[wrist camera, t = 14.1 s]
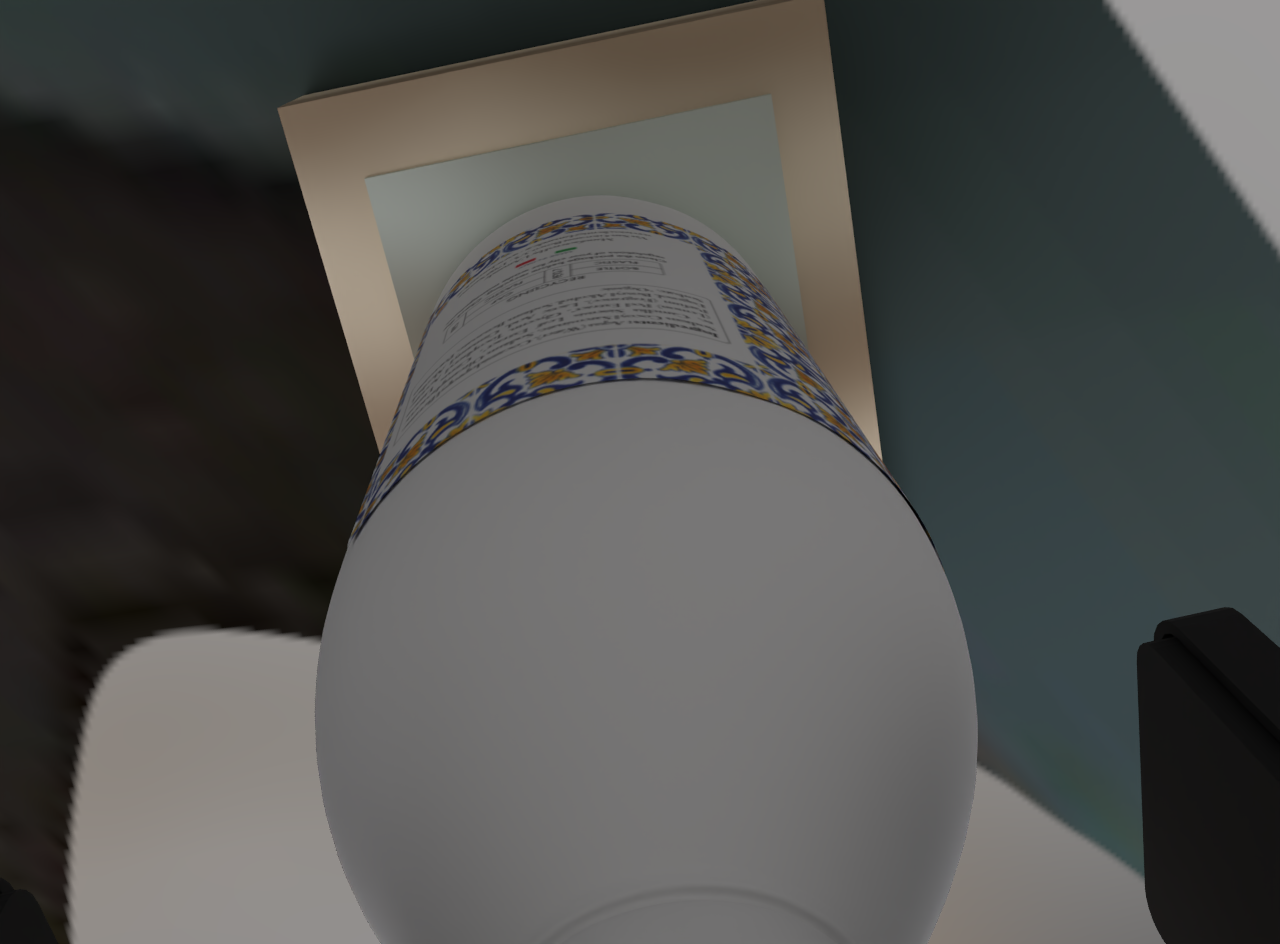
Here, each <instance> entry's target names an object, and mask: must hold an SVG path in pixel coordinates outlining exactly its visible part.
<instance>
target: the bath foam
mask: <svg viewBox="0 0 1280 944" xmlns="http://www.w3.org/2000/svg"><path fill="white" fill-rule="evenodd" d="M348 544H349V546H348V545H347V546H348V549H347V552H346V555H345V558H344V561H343V564H342V567H341V570H340V573H339V576H338V579H337V582H336V585H335V588H334V591H333V595H332V598H331V602H330V606H329V609H328V613H327V617H326V621H325V625H324V630H323V635H322V640H321V647H320V654H319V661H318V669H317V680H316V681H317V682H316V698H315V728H316V752H317V761H318V770H319V776H320V783H321V790H322V796H323V802H324V807H325V812H326V816H327V819H328V823H329V827H330V830H331V834H332V837H333V840H334V844H335V847H336V851H337V854H338V857H339V860H340V863H341V865H342V868H343V871H344V873H345V875H346V878H347V880H348V882H349V884H350V886H351V889H352V891H353V893H354V895H355V897H356V899H357V901H358V903H359V906H360V908H361V910H362V912H363V914H364V916H365V918H366V919H367V922H368V923H369V925H370V927H371V929H372V930H373V931H374V933H375V935H376V937H377V938H378V940H379V941H380V943H381V944H927V943H928V941H929V939H930V937H931V935H932V932H933V930H934V928H935V925H936V923H937V921H938V918H939V916H940V913H941V911H942V908H943V906H944V904H945V901H946V899H947V896H948V893H949V891H950V888H951V884H952V881H953V878H954V875H955V872H956V868H957V866H958V863H959V860H960V856H961V853H962V850H963V846H964V842H965V838H966V833H967V828H968V823H969V818H970V813H971V808H972V802H973V797H974V790H975V781H976V768H977V740H978V725H977V710H976V699H975V689H974V680H973V673H972V666H971V662H970V657H969V652H968V647H967V643H966V638H965V633H964V630H963V626H962V622H961V618H960V615H959V612H958V609H957V606H956V602H955V599H954V596H953V593H952V590H951V588H950V585H949V583H948V580H947V578H946V575H945V572H944V569H943V566H942V563H941V561H940V558H939V555H938V553H937V550H936V548H935V546H934V544H933V541H932V539H931V537H930V535H929V533H928V531H927V530H926V528H925V526H924V524H923V522H922V521H921V519H920V517H919V516H918V514H917V513H916V511H915V509H914V508H913V506H912V505H911V503H910V502H909V500H908V499H907V498H906V496H905V495H904V493H903V492H902V490H901V489H900V487H899V486H898V484H897V483H896V481H895V480H894V478H893V477H892V475H891V474H890V472H889V471H888V469H887V468H886V466H885V465H884V463H883V462H882V460H881V459H880V457H879V456H878V454H877V453H876V451H875V450H874V448H873V447H872V445H871V444H870V442H869V441H868V439H867V438H866V436H865V435H864V433H863V432H862V430H861V429H860V427H859V426H858V424H857V423H856V421H855V420H854V418H853V417H852V415H851V414H850V412H849V411H848V409H847V408H846V406H845V405H844V403H843V402H842V401H841V399H840V398H839V396H838V395H837V393H836V392H835V390H834V389H833V387H832V386H831V384H830V383H829V381H828V380H827V378H826V377H825V375H824V374H823V372H822V371H821V369H820V368H819V366H818V365H817V363H816V362H815V360H814V359H813V357H812V356H811V354H810V353H809V351H808V350H807V348H806V347H805V345H804V344H803V342H802V341H801V339H800V338H799V336H798V335H797V333H796V332H795V330H794V329H793V327H792V326H791V324H790V323H789V321H788V320H787V318H786V317H785V315H784V314H783V312H782V311H781V309H780V308H779V306H778V305H777V304H776V302H775V301H774V299H773V298H772V296H771V295H770V293H769V292H768V291H767V289H766V288H765V287H764V285H763V284H762V283H761V281H760V280H759V279H758V277H757V276H756V274H755V273H754V271H753V270H752V269H751V267H750V266H749V265H748V264H747V262H746V261H745V260H744V259H743V258H742V257H741V255H740V254H739V253H738V252H737V251H736V250H735V249H734V248H733V247H732V246H731V245H730V244H729V243H728V242H727V241H725V240H724V239H723V238H722V237H721V236H719V235H718V234H717V233H716V232H714V231H713V230H712V229H710V228H709V227H707V226H706V225H704V224H703V223H701V222H699V221H698V220H696V219H694V218H692V217H690V216H688V215H686V214H684V213H682V212H679V211H677V210H674V209H672V208H669V207H666V206H662V205H659V204H655V203H651V202H647V201H643V200H638V199H633V198H628V197H621V196H610V195H593V196H581V197H574V198H569V199H564V200H560V201H556V202H552V203H549V204H546V205H543V206H540V207H537V208H535V209H533V210H530V211H528V212H526V213H524V214H522V215H520V216H518V217H516V218H514V219H512V220H510V221H509V222H507V223H505V224H504V225H502V226H501V227H499V228H498V229H497V230H495V231H494V232H493V233H491V234H490V235H489V236H487V237H486V238H485V239H484V240H483V241H481V242H480V243H479V244H478V245H477V246H476V247H475V248H474V249H473V250H472V251H471V252H470V253H469V254H468V255H467V257H466V258H465V259H464V260H463V261H462V262H461V264H460V265H459V266H458V267H457V269H456V270H455V272H454V273H453V274H452V276H451V277H450V279H449V280H448V282H447V284H446V285H445V287H444V289H443V291H442V293H441V295H440V297H439V299H438V301H437V303H436V305H435V307H434V310H433V312H432V315H431V317H430V318H429V320H428V323H427V326H426V329H425V331H424V334H423V337H422V340H421V343H420V345H419V348H418V351H417V354H416V356H415V359H414V362H413V365H412V367H411V370H410V373H409V376H408V379H407V381H406V384H405V387H404V390H403V392H402V395H401V398H400V401H399V403H398V406H397V409H396V412H395V415H394V417H393V420H392V423H391V426H390V428H389V431H388V434H387V437H386V440H385V442H384V445H383V448H382V451H381V453H380V456H379V459H378V462H377V464H376V467H375V470H374V473H373V476H372V478H371V481H370V484H369V487H368V489H367V492H366V495H365V498H364V500H363V503H362V506H361V509H360V512H359V514H358V517H357V520H356V523H355V525H354V528H353V531H352V534H351V537H350V539H349V542H348Z"/></svg>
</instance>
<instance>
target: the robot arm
mask: <svg viewBox="0 0 1280 944" xmlns="http://www.w3.org/2000/svg"><path fill="white" fill-rule="evenodd" d="M1137 679H1138V707H1139V734H1140V761H1141V789H1142V816H1143V844H1144V871H1145V891H1146V898H1147V902H1148V907H1149V910H1150V913H1151V916H1152V919H1153V921H1154V923H1155V926H1156V928H1157V930H1158V932H1159V934H1160V935H1161V937H1162V939H1163V940H1164V942H1165V943H1166V944H1280V648H1279V647H1278V646H1277V645H1276V644H1275V643H1274V642H1272V641H1271V640H1270V639H1269V638H1268V637H1267V636H1266V635H1265V634H1264V633H1262V632H1261V631H1260V630H1259V629H1258V628H1257V627H1256V626H1255V625H1253V624H1252V623H1251V622H1250V621H1249V620H1248V619H1247V618H1246V617H1244V616H1243V615H1242V614H1241V613H1240V612H1238V611H1236V610H1235V609H1233V608H1227V607H1224V608H1219V609H1215V610H1210V611H1206V612H1201V613H1197V614H1192V615H1187V616H1183V617H1178V618H1174V619H1169V620H1165V621H1162V622H1161V623H1159V624H1158V625H1157V628H1156V630H1155V633H1154V641H1151V642H1147V643H1143V644H1142V645H1140V646H1139V649H1138V652H1137ZM0 944H58V942H57V940H56V938H55V936H54V934H53V932H52V930H51V928H50V926H49V924H48V922H47V920H46V918H45V916H44V914H43V912H42V910H41V908H40V906H39V904H38V902H37V901H36V899H35V898H34V896H33V895H32V894H31V893H30V892H28V891H27V890H21V889H19V890H14V889H13V887H12V886H11V884H10V883H8V882H7V881H5V880H4V879H3V878H0Z"/></svg>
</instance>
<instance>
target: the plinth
mask: <svg viewBox="0 0 1280 944" xmlns="http://www.w3.org/2000/svg"><path fill="white" fill-rule="evenodd" d="M277 109H278V112H279V116H280V119H281V123H282V126H283V129H284V133H285V136H286V139H287V143H288V146H289V149H290V153H291V156H292V160H293V163H294V166H295V170H296V173H297V176H298V180H299V183H300V186H301V190H302V193H303V197H304V200H305V203H306V207H307V210H308V213H309V217H310V220H311V223H312V227H313V230H314V234H315V237H316V240H317V244H318V247H319V250H320V254H321V257H322V260H323V264H324V267H325V271H326V274H327V277H328V281H329V284H330V287H331V291H332V294H333V297H334V301H335V304H336V308H337V311H338V314H339V318H340V321H341V324H342V328H343V331H344V334H345V338H346V341H347V345H348V348H349V351H350V355H351V358H352V361H353V365H354V368H355V371H356V375H357V378H358V382H359V385H360V388H361V392H362V395H363V398H364V402H365V405H366V408H367V412H368V415H369V419H370V422H371V425H372V429H373V432H374V435H375V439H376V442H377V445H378V449H379V452H380V453H381V451H382V448H383V445H384V442H385V440H386V437H387V434H388V431H389V428H390V426H391V423H392V420H393V417H394V415H395V412H396V409H397V406H398V403H399V401H400V398H401V395H402V392H403V390H404V387H405V384H406V381H407V379H408V376H409V373H410V370H411V367H412V365H413V362H414V359H415V356H416V354H417V351H418V348H419V345H420V343H421V340H422V337H423V334H424V331H425V329H426V326H427V323H428V320H429V318H430V317H431V315H432V312H433V310H434V307H435V305H436V303H437V301H438V299H439V297H440V295H441V293H442V291H443V289H444V287H445V285H446V284H447V282H448V280H449V279H450V277H451V276H452V274H453V273H454V272H455V270H456V269H457V267H458V266H459V265H460V264H461V262H462V261H463V260H464V259H465V258H466V257H467V255H468V254H469V253H470V252H471V251H472V250H473V249H474V248H475V247H476V246H477V245H478V244H479V243H480V242H481V241H483V240H484V239H485V238H486V237H487V236H489V235H490V234H491V233H493V232H494V231H495V230H497V229H498V228H499V227H501V226H502V225H504V224H505V223H507V222H509V221H510V220H512V219H514V218H516V217H518V216H520V215H522V214H524V213H526V212H528V211H530V210H533V209H535V208H537V207H540V206H543V205H546V204H549V203H552V202H556V201H560V200H564V199H569V198H574V197H581V196H593V195H610V196H621V197H628V198H633V199H638V200H643V201H647V202H651V203H655V204H659V205H662V206H666V207H669V208H672V209H674V210H677V211H679V212H682V213H684V214H686V215H688V216H690V217H692V218H694V219H696V220H698V221H699V222H701V223H703V224H704V225H706V226H707V227H709V228H710V229H712V230H713V231H714V232H716V233H717V234H718V235H719V236H721V237H722V238H723V239H724V240H725V241H727V242H728V243H729V244H730V245H731V246H732V247H733V248H734V249H735V250H736V251H737V252H738V253H739V254H740V255H741V257H742V258H743V259H744V260H745V261H746V262H747V264H748V265H749V266H750V267H751V269H752V270H753V271H754V273H755V274H756V276H757V277H758V279H759V280H760V281H761V283H762V284H763V285H764V287H765V288H766V289H767V291H768V292H769V293H770V295H771V296H772V298H773V299H774V301H775V302H776V304H777V305H778V306H779V308H780V309H781V311H782V312H783V314H784V315H785V317H786V318H787V320H788V321H789V323H790V324H791V326H792V327H793V329H794V330H795V332H796V333H797V335H798V336H799V338H800V339H801V341H802V342H803V344H804V345H805V347H806V348H807V350H808V351H809V353H810V354H811V356H812V357H813V359H814V360H815V362H816V363H817V365H818V366H819V368H820V369H821V371H822V372H823V374H824V375H825V377H826V378H827V380H828V381H829V383H830V384H831V386H832V387H833V389H834V390H835V392H836V393H837V395H838V396H839V398H840V399H841V401H842V402H843V403H844V405H845V406H846V408H847V409H848V411H849V412H850V414H851V415H852V417H853V418H854V420H855V421H856V423H857V424H858V426H859V427H860V429H861V430H862V432H863V433H864V435H865V436H866V438H867V439H868V441H869V442H870V444H871V445H872V447H873V448H874V450H875V451H876V453H877V454H878V456H879V457H880V459H881V460H882V454H881V447H880V439H879V431H878V423H877V415H876V407H875V399H874V391H873V383H872V375H871V367H870V360H869V352H868V344H867V336H866V328H865V320H864V312H863V304H862V296H861V288H860V281H859V273H858V265H857V257H856V249H855V241H854V233H853V225H852V217H851V209H850V201H849V194H848V186H847V178H846V170H845V162H844V154H843V146H842V138H841V130H840V122H839V114H838V107H837V99H836V91H835V83H834V75H833V67H832V59H831V51H830V43H829V35H828V28H827V20H826V12H825V4H824V0H757V1H752V2H747V3H743V4H738V5H733V6H728V7H724V8H719V9H714V10H709V11H704V12H700V13H695V14H690V15H685V16H681V17H676V18H671V19H666V20H661V21H657V22H652V23H647V24H642V25H637V26H633V27H628V28H623V29H618V30H614V31H609V32H604V33H599V34H594V35H590V36H585V37H580V38H575V39H571V40H566V41H561V42H556V43H551V44H547V45H542V46H537V47H532V48H528V49H523V50H518V51H513V52H508V53H504V54H499V55H494V56H489V57H485V58H480V59H475V60H470V61H465V62H461V63H456V64H451V65H446V66H441V67H437V68H432V69H427V70H422V71H418V72H413V73H408V74H403V75H398V76H394V77H389V78H384V79H379V80H375V81H370V82H365V83H360V84H355V85H351V86H346V87H341V88H336V89H332V90H327V91H322V92H317V93H312V94H308V95H303V96H301V97H299V98H297V99H295V100H293V101H291V102H289V103H287V104H285V105H283V106H281V107H279V108H277Z"/></svg>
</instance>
